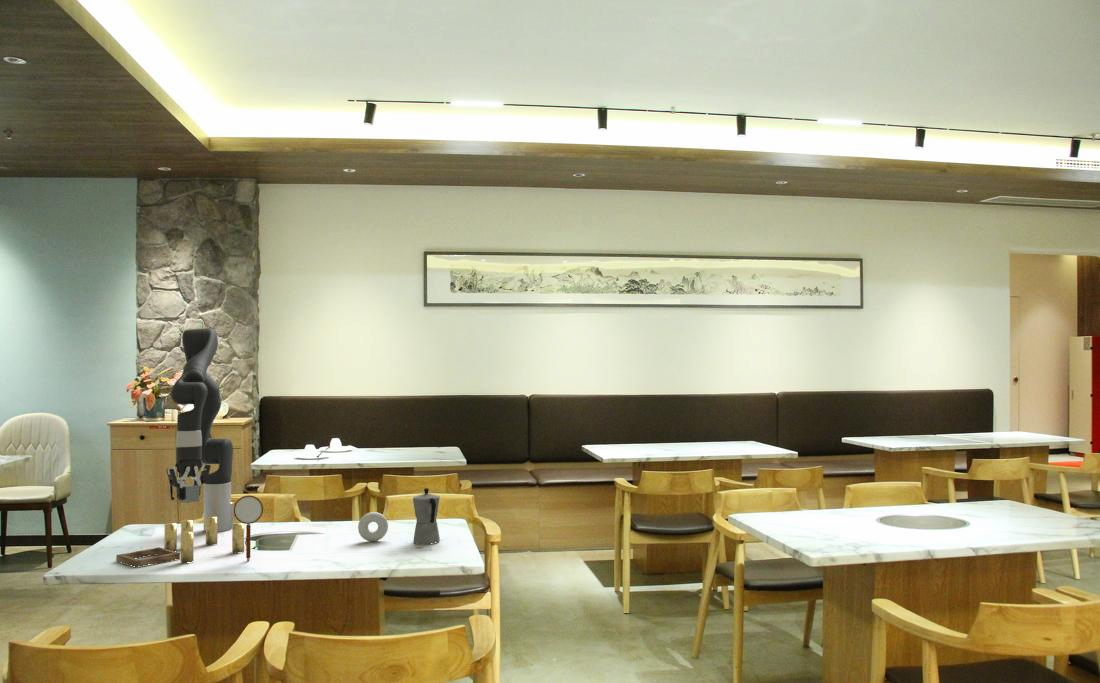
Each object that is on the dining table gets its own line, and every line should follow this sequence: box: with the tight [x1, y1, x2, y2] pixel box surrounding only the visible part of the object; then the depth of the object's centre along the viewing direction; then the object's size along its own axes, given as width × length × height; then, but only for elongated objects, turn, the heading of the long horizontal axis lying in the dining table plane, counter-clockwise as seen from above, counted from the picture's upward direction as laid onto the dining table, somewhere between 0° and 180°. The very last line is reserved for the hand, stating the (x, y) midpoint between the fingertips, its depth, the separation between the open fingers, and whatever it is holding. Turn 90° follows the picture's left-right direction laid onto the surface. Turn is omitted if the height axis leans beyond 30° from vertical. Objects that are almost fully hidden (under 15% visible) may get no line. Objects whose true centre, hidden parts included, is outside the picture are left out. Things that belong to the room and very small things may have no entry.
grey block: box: [177, 483, 200, 504], centre depth 259 cm, size 4×4×5 cm
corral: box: [115, 546, 181, 568], centre depth 251 cm, size 13×13×2 cm
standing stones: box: [163, 516, 245, 564], centre depth 261 cm, size 22×23×9 cm
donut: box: [357, 511, 389, 542], centre depth 276 cm, size 10×4×10 cm, turn 103°
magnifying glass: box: [233, 494, 264, 562], centre depth 249 cm, size 9×2×20 cm, turn 99°
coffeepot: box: [412, 487, 441, 545], centre depth 274 cm, size 15×9×18 cm, turn 26°
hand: (188, 498), depth 259 cm, fingers closed on grey block, 4 cm apart
